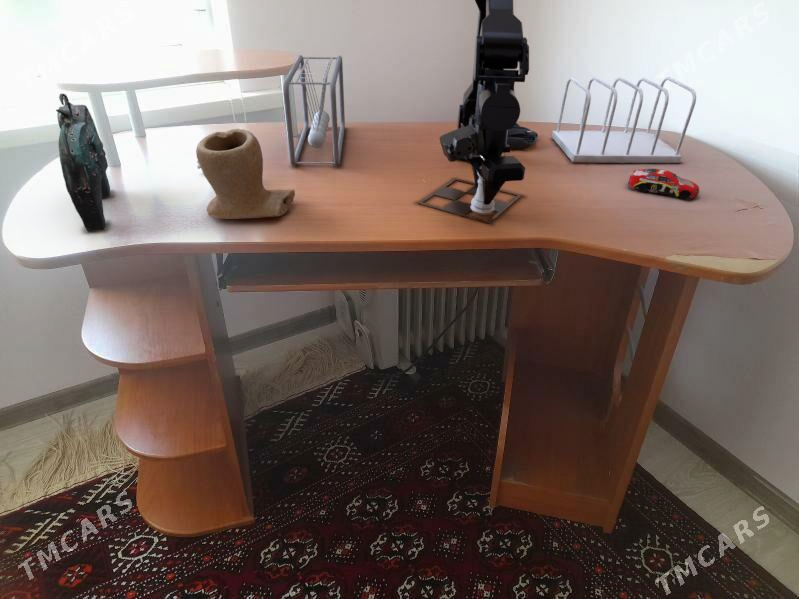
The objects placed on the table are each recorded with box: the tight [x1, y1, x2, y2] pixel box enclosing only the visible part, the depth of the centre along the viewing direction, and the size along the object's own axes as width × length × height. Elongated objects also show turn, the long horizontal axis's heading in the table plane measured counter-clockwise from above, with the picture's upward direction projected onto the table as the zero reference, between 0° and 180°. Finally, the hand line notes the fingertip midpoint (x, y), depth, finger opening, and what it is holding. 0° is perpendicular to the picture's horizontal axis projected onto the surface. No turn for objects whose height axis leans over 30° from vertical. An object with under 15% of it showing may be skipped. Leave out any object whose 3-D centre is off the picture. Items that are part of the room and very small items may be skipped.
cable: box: [507, 122, 539, 150], centre depth 134 cm, size 17×14×4 cm
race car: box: [627, 168, 700, 201], centre depth 109 cm, size 13×5×4 cm, turn 63°
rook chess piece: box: [470, 166, 495, 216], centre depth 98 cm, size 4×4×8 cm
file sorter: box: [551, 76, 697, 164], centre depth 126 cm, size 25×17×16 cm
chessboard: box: [417, 177, 523, 225], centre depth 106 cm, size 15×15×1 cm
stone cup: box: [195, 128, 296, 220], centre depth 95 cm, size 15×12×15 cm
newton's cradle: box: [282, 54, 346, 167], centre depth 125 cm, size 30×10×18 cm, turn 2°
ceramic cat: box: [55, 93, 111, 233], centre depth 94 cm, size 20×6×20 cm, turn 21°
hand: (483, 199), depth 99 cm, fingers closed on rook chess piece, 3 cm apart
